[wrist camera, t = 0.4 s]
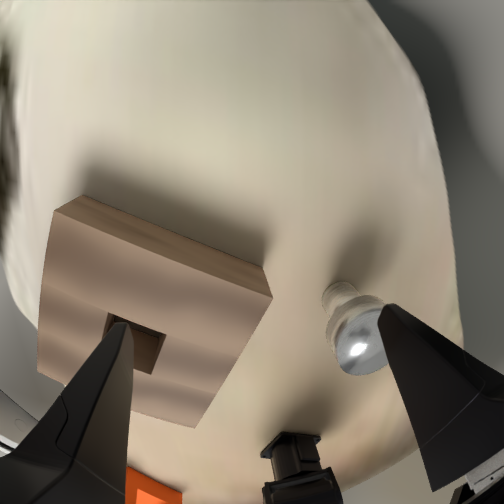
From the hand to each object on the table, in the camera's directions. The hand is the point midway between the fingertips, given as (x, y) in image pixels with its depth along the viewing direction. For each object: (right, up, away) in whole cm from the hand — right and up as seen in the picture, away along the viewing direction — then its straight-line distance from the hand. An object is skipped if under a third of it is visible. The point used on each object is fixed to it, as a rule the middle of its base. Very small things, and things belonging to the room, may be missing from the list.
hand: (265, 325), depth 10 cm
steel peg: (+8, -2, +18) cm, 19 cm away
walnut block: (-10, -3, +16) cm, 19 cm away
